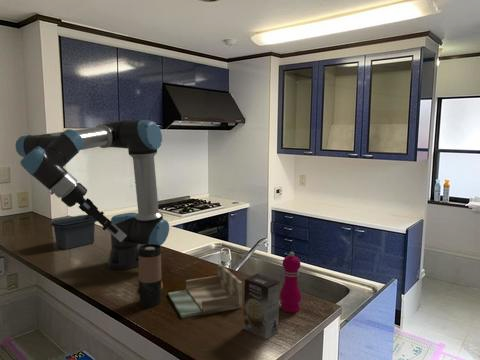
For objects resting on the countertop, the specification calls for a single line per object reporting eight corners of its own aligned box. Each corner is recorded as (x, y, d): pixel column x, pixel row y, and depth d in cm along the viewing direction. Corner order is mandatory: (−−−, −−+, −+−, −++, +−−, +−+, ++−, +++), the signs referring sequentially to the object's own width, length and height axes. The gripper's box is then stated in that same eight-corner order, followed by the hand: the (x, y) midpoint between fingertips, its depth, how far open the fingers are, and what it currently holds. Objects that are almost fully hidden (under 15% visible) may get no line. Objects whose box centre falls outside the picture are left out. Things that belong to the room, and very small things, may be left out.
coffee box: (242, 329, 113) (243, 278, 111) (255, 321, 118) (256, 272, 116) (266, 340, 107) (267, 286, 105) (279, 331, 112) (280, 280, 110)
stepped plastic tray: (167, 294, 137) (167, 271, 136) (220, 286, 145) (220, 263, 144) (182, 319, 119) (182, 292, 118) (241, 307, 127) (242, 282, 126)
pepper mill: (275, 308, 127) (276, 251, 125) (288, 301, 132) (289, 247, 130) (292, 315, 122) (293, 256, 120) (305, 308, 127) (307, 252, 125)
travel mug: (166, 300, 132) (165, 246, 129) (150, 309, 125) (149, 251, 123) (150, 296, 135) (149, 242, 133) (134, 303, 129) (133, 248, 127)
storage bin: (61, 252, 184) (60, 224, 183) (47, 246, 194) (45, 219, 192) (100, 243, 201) (100, 217, 199) (85, 238, 210) (84, 213, 209)
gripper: (56, 194, 124) (103, 234, 132) (63, 204, 102) (119, 252, 111) (73, 178, 126) (118, 219, 135) (84, 185, 104) (137, 233, 113)
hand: (119, 234), depth 123 cm, fingers open, 13 cm apart
